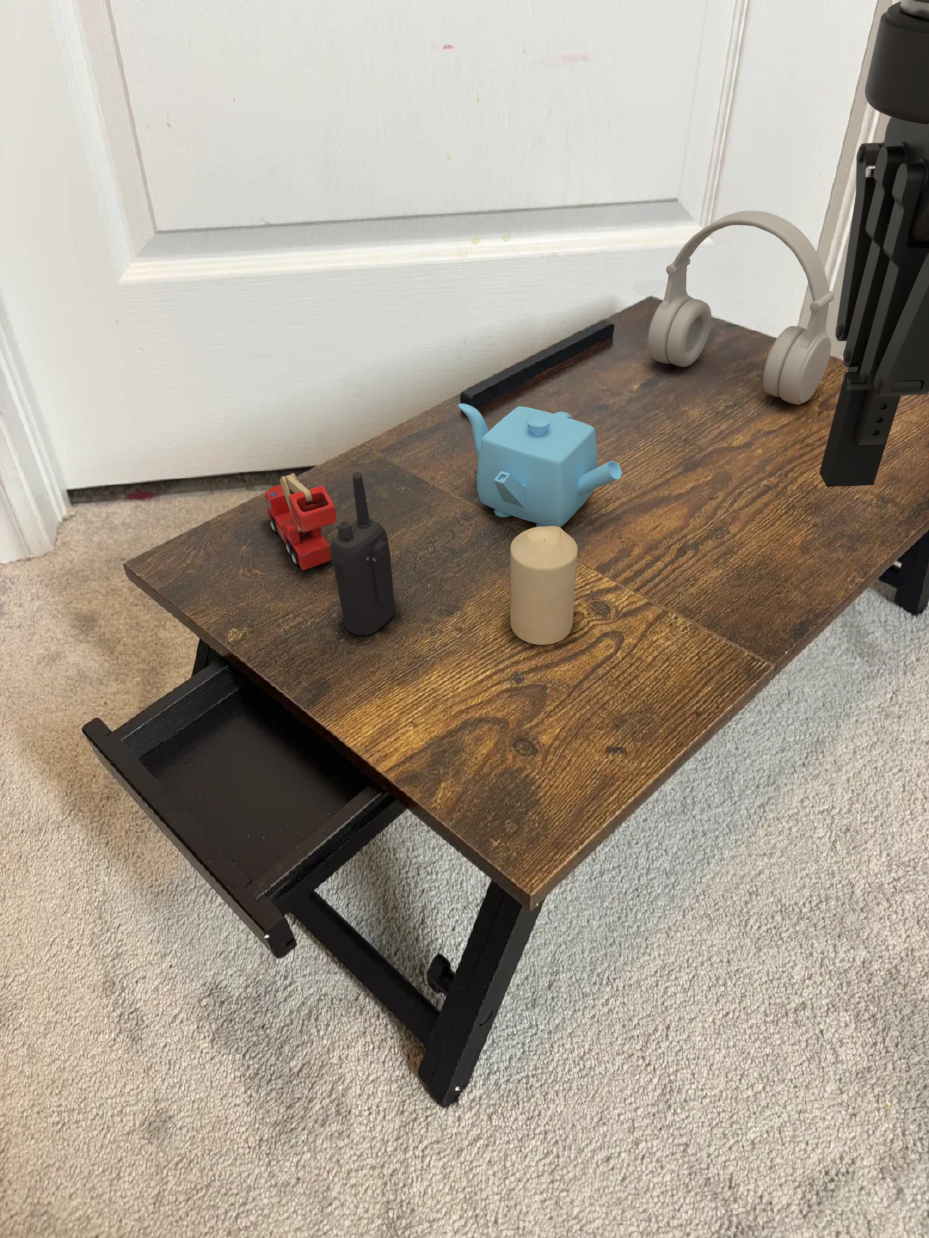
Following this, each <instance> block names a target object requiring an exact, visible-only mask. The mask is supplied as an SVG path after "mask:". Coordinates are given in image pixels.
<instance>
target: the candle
mask: <svg viewBox="0 0 929 1238" xmlns="http://www.w3.org/2000/svg"><path fill="white" fill-rule="evenodd" d="M578 550H579V548H578V544H577V542H576V541H575V539H574V537H572V536H571V535H569V534H568V533H567V532H566V531H564V530H563V529H562V528H561V527H557V526H547V527H536V526H535V527H531V528H529V529H526V530H524V531H523V532H521V533H519V534H517V536H515V537H514V539H513V540H512V541H511V544H510V550H509V551H510V555H509V556H510V559H509V561H510V564H509V565H510V567H509V568H510V570H509V571H510V573H509V575H510V577H509V578H510V579H509V582H510V583H509V584H510V585H509V586H510V588H509V603H510V604H509V621H510V622H509V623H510V627H511V630H512V632H513V633H514V635H515V636H516V637H517V638H519V639H520V640H522V641H524V642H526V643H529V644H532V645H539V646H546V645H553V644H555V643H559V642H560V641H562V640H564V639H565V638H566V637H568V636H569V635H570V633H571V631H572V628H573V623H574V609H575V595H576V582H577V565H578Z"/></svg>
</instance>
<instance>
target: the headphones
mask: <svg viewBox="0 0 929 1238" xmlns="http://www.w3.org/2000/svg"><path fill="white" fill-rule="evenodd" d="M731 226H748V227H754V228H758V229H760V230H762V231H764V232H766V233H770V234H771V235H773V236H774V237H776V238H778V239H779V240H780V241H781V242H782V243H783V244H784V245H785V246H786V247H788V248H789V250H790V251H791V252H792V253H793V254H794V256H795V257H796V259H797V261H798V263H799V264H800V266H801V268H802V271H803V272H804V274H805V277H806V280H807V283H808V288H809V291H810V295H811V299H812V302H811V303H810V304H809V310H810V311H811V312H810V316H809V320H808V323H807V326H806V327H805V328H804V327H802V326H797V325H790V326H787V327H786V328H785V329H783V330H782V331H781V333H780V334H778V336H777V338H776V340H775V341H774V342H773V344H772V347H771V349H770V351H769V353H768V356H767V359H766V361H765V364H764V367H763V368H764V369H763V374H762V387H763V390H764V391H765V393H766V394H768V395H770V396H773V397H776V398H780V399H781V400H782V401H784V402H786V403H789V404H793V405H796V406H797V405H801V404H804V403H806V402H807V401H810V399H811V398H812V396H814V394H815V393H816V391H817V390H818V387H819V386H820V384H821V382H822V380H823V378H824V375H825V373H826V370H827V367H828V364H829V360H830V357H831V351H832V340H831V338H830V336H829V334H828V333H827V329H826V327H827V320H828V314H829V306H830V303H831V302H833V300H834V299H835V294H834V292H833V291H832V290H830V287H829V281H828V278H827V275H826V271H825V267H824V264H823V262H822V260H821V258H820V255H819V253H818V251H817V249H816V248H815V247H814V245H813V244H812V242H811V240H810V239H809V238H808V237H807V236H806V235H805V234H804V233H803V232H802V231H801V230H800V228H798V227H796V225H794V224H793V223H792V222H791V221H789V220H787V219H785V218H783V217H781V216H779V215H777V214H773V213H771V212H770V213H769V212H767V211H761V210H740V211H736V212H733V213H729V214H727V215H725V216H723V217H721V218H719V219H717V220H715V221H713V222H712V223H710V224H709V225H706V226H705V227H703V228H702V229H701V230H699V231H698V232H697V233H695V234H693V235H692V237H691V238H689V240H688V241H687V242H685V244H684V245H683V246H682V248H681V249H680V251H679V252H678V254H677V255H676V257H675V259H674V260H673V262H671V263H670V264H669V265H667V266H666V268H665V272H666V275H668V276H667V283H666V285H665V290H664V291H665V292H664V297H663V300H662V301H661V303H660V304H659V305H658V307H657V308H656V310H655V312H654V314H653V315H652V319H651V321H650V325H649V328H648V333H647V348H648V352H649V353H650V356H651V358H652V359H653V360H655V361H657V362H659V363H661V364H666V365H674V366H676V367H682V368H687V367H689V366H691V365H693V364H694V363H695V362H696V360H697V359H698V358H699V357H700V355H701V354H702V352H703V350H704V348H705V346H706V344H707V341H708V339H709V336H710V333H711V327H712V316H713V315H712V310H711V307H710V305H709V303H707V302H705V301H703V300H702V299H697V298H694V297H692V296H690V295H689V294H688V291H687V273H688V272H687V271H688V266H689V265H690V264H691V259H690V258H691V256H692V255H693V254H694V253H695V252H696V250H697V249H698V247H699V246H700V245H701V244H702V243H703V242H704V241H705V240H706V239H707V238H708V237H710V236H711V235H712V234H713V233H715V232H716V231H719V230H721V229H724V228H727V227H731Z"/></svg>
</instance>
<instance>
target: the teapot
mask: <svg viewBox="0 0 929 1238" xmlns="http://www.w3.org/2000/svg"><path fill="white" fill-rule="evenodd" d="M457 407H458V408H459V410H460V411H462V412H463V413H464V414H465V416H466V418H468V420H469V422H470V425H471V428H472V433H473V442H474V448H475V452H476V454H477V457H478V458H477V459H478V460H477V469H476V491H477V495H478V499H479V501H480V502H481V503H482V504H483V505H485V506H488V507H490V508H491V509H494V510H493V512H494V514H495V516H496V517H500V518H509V517H511V516H512V517H515V518H518V519H521V520H525V521H527V522H531V523H534V524H535V527H547V526H557V527H560V528H561V527H563V526H564V525H565V524H566V523H567V522H568V521H570V519H571V518H573V516H574V515H575V514H576V513H577V512H578V511H579V510H580V509H581V508H582V507H583V505H584V504H585V503H586V502H587V500H588V499H589V498H590V497H591V496H592V495H593V493H594V491H595V490H596V489H599V488H600V487H604V486H605V485H607V484H610V483H612V482H615V481H617V480H619V479H621V478H622V473H623V471H622V468H621V466H620V464H618V462H617V461H615V460H609V461H607V462H606V463H604V464H602V465H599V455H598V444H597V437H596V430H595V427H594V426H592V425H590V424H588V423H585V422H582V421H579V420H576V419H573V417H572V416H573V415H571V414H570V413H568V412H567V411H556V412H554V413H553V412H549V411H545V410H541V409H536V408H533V407H527V406H520V405H519V406H516V407H515V408H514V409H513V410H511V411H510V412H509V413H508V414H507V415H505V416H504V417H503V418H502V419H501V420H500V421H499V422H497V423H496V424H495V425H494V426H493V427H492V428H491V429H490V430H489V427H488V425H487V423H486V421H485V418H484V417H483V415H482V414H481V412H480V411H479V410H478V409H477V408H476V407H474V406H473V405H469V404H467V403H458V405H457Z"/></svg>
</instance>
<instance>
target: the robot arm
mask: <svg viewBox="0 0 929 1238" xmlns="http://www.w3.org/2000/svg"><path fill="white" fill-rule="evenodd" d="M864 97H865V100H866V102H867V103H868V104H869V106H870V107H871V108H873V109H874V110H876V111H877V112H879V113H881V114H883V115H885V116H887V117H890V118H889V119H888V122H887V123H886V127H885V132H884V139H883V140H882V141H880V142H864V143H860V145H859V148H858V150H857V153H856V158H855V160H856V164H855V165H856V170H855V195H854V203H853V204H854V205H853V210H852V216H851V217H852V218H851V224H850V231H849V237H848V245H847V251H846V257H845V264H844V265H845V266H844V271H843V278H842V285H841V291H840V298H839V305H838V312H837V318H836V326H835V330H834V331H835V338H836V340H837V342H845V346H844V349H843V351H842V352H843V353H842V361H843V366H844V367H845V368H848V369H847V371H845V372H844V375H843V379H842V383H841V387H840V391H839V394H838V398H837V402H836V406H835V410H834V414H833V418H832V421H831V425H830V430H829V433H828V436H827V441H826V445H825V449H824V453H823V456H822V460H821V465H820V468H819V475H820V477H821V479H822V480H823V483H824V485H825V487H826V488H839V487H840V488H841V487H863V486H865V487H866V486H875V481H876V478H877V475H878V473H879V469H880V465H881V462H882V459H883V456H884V452H885V451H886V446H887V443H888V439H889V436H890V433H891V430H892V426H893V424H894V420H895V417H896V413H897V410H898V407H899V404H900V401H901V397H902V396H922V395H923V396H924V395H928V394H929V0H900V1H898V2H895V3H893V4H891V5H890V6H889V7H888V8H887V10H886V11H885V12H884V13H882V14H881V16H880V18H879V23H878V27H877V33H876V37H875V41H874V46H873V51H872V55H871V59H870V65H869V69H868V72H867V78H866V82H865V86H864Z"/></svg>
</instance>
